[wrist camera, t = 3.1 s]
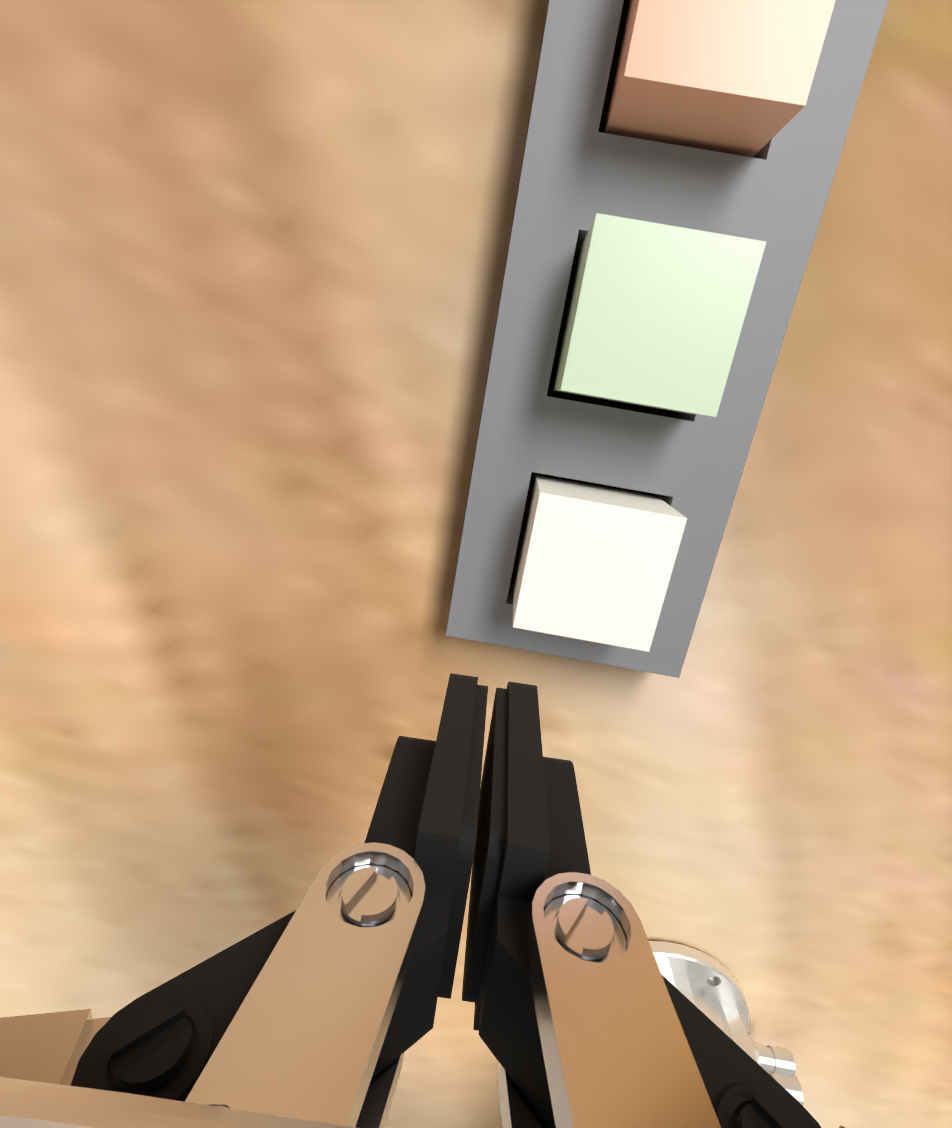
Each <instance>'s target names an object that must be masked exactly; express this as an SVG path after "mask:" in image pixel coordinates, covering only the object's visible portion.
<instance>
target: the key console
mask: <svg viewBox="0 0 952 1128" xmlns="http://www.w3.org/2000/svg"><path fill="white" fill-rule="evenodd" d="M623 2H624V0H549V6H548V12H547V19H546V25H545V31H544V37H543V43H542V49H541V55H540V61H539V68H538V74H537V80H536V86H535V92H534V98H533V104H532V110H531V117H530V123H529V129H528V135H527V141H526V147H525V153H524V159H523V165H522V172H521V178H520V184H519V190H518V196H517V202H516V208H515V214H514V221H513V227H512V233H511V239H510V245H509V251H508V257H507V263H506V270H505V276H504V282H503V288H502V294H501V300H500V306H499V312H498V319H497V325H496V331H495V337H494V343H493V349H492V355H491V361H490V368H489V374H488V380H487V386H486V392H485V398H484V404H483V410H482V417H481V423H480V429H479V435H478V441H477V447H476V453H475V459H474V465H473V472H472V478H471V484H470V490H469V496H468V502H467V508H466V514H465V521H464V527H463V533H462V539H461V545H460V551H459V557H458V563H457V570H456V576H455V582H454V588H453V594H452V600H451V606H450V612H449V619H448V625H447V631H446V636H451V637H457V638H462V639H468V640H473V641H479V642H484V643H490V644H495V645H501V646H506V647H512V648H517V649H523V650H528V651H534V652H539V653H545V654H550V655H556V656H561V657H567V658H573V659H578V660H584V661H589V662H595V663H600V664H606V665H611V666H617V667H622V668H628V669H633V670H639V671H644V672H650V673H655V674H661V675H666V676H672V677H678V678H679V676H680V673H681V669H682V666H683V663H684V660H685V657H686V653H687V650H688V647H689V644H690V640H691V637H692V634H693V631H694V627H695V624H696V621H697V618H698V614H699V611H700V608H701V605H702V601H703V598H704V595H705V592H706V589H707V585H708V582H709V579H710V576H711V572H712V569H713V566H714V563H715V559H716V556H717V553H718V550H719V546H720V543H721V540H722V537H723V533H724V530H725V527H726V524H727V521H728V517H729V514H730V511H731V508H732V504H733V501H734V498H735V495H736V491H737V488H738V485H739V482H740V478H741V475H742V472H743V469H744V466H745V462H746V459H747V456H748V453H749V449H750V446H751V443H752V440H753V436H754V433H755V430H756V427H757V423H758V420H759V417H760V414H761V410H762V407H763V404H764V401H765V398H766V394H767V391H768V388H769V385H770V381H771V378H772V375H773V372H774V368H775V365H776V362H777V359H778V355H779V352H780V349H781V346H782V342H783V339H784V336H785V333H786V330H787V326H788V323H789V320H790V317H791V313H792V310H793V307H794V304H795V300H796V297H797V294H798V291H799V287H800V284H801V281H802V278H803V274H804V271H805V268H806V265H807V262H808V258H809V255H810V252H811V249H812V245H813V242H814V239H815V236H816V232H817V229H818V226H819V223H820V219H821V216H822V213H823V210H824V206H825V203H826V200H827V197H828V194H829V190H830V187H831V184H832V181H833V177H834V174H835V171H836V168H837V164H838V161H839V158H840V155H841V151H842V148H843V145H844V142H845V139H846V135H847V132H848V129H849V126H850V122H851V119H852V116H853V113H854V109H855V106H856V103H857V100H858V96H859V93H860V90H861V87H862V83H863V80H864V77H865V74H866V71H867V67H868V64H869V61H870V58H871V54H872V51H873V48H874V45H875V41H876V38H877V35H878V32H879V28H880V25H881V22H882V19H883V15H884V12H885V9H886V6H887V3H888V0H836V1H835V4H834V8H833V11H832V15H831V18H830V22H829V25H828V29H827V32H826V36H825V39H824V43H823V46H822V50H821V53H820V57H819V60H818V64H817V67H816V71H815V74H814V78H813V81H812V85H811V88H810V91H809V95H808V98H807V102H806V105H805V107H804V108H803V109H802V110H801V111H800V112H799V113H798V114H797V115H796V116H794V117H793V118H792V119H791V120H790V121H789V122H788V123H787V124H786V125H785V126H784V127H783V128H782V129H781V130H780V131H779V132H778V133H777V134H776V135H775V136H774V137H773V138H772V139H771V140H770V141H769V142H768V143H767V144H766V145H765V146H764V147H763V148H762V149H761V150H760V151H759V152H758V153H757V154H756V155H755V156H754V157H753V158H752V157H746V156H740V155H734V154H728V153H722V152H716V151H710V150H704V149H698V148H692V147H686V146H680V145H674V144H668V143H662V142H656V141H650V140H644V139H638V138H632V137H626V136H620V135H614V134H608V133H602V132H598V130H599V125H600V120H601V115H602V110H603V104H604V99H605V94H606V89H607V84H608V79H609V74H610V69H611V63H612V58H613V53H614V48H615V43H616V38H617V33H618V28H619V22H620V17H621V12H622V7H623ZM596 213H599V214H605V215H611V216H617V217H623V218H629V219H635V220H641V221H647V222H653V223H659V224H665V225H671V226H676V227H682V228H688V229H694V230H700V231H706V232H712V233H718V234H724V235H730V236H736V237H742V238H748V239H754V240H759V241H765V242H766V245H765V249H764V252H763V256H762V259H761V263H760V266H759V270H758V273H757V277H756V280H755V284H754V287H753V291H752V294H751V298H750V301H749V305H748V308H747V312H746V315H745V319H744V322H743V326H742V329H741V333H740V336H739V340H738V343H737V346H736V350H735V353H734V357H733V360H732V364H731V367H730V371H729V374H728V378H727V381H726V385H725V388H724V392H723V395H722V399H721V402H720V406H719V409H718V413H717V416H716V417H712V416H704V415H697V414H689V413H681V412H677V415H676V418H670V417H664V416H659V415H653V414H647V413H641V412H636V411H630V410H624V409H618V408H613V407H607V406H601V405H595V404H590V403H584V402H578V401H572V400H567V399H561V398H555V397H549V396H547V391H548V386H549V381H550V376H551V371H552V366H553V360H554V355H555V350H556V345H557V340H558V335H559V330H560V325H561V319H562V314H563V309H564V304H565V299H566V294H567V289H568V284H569V279H570V273H571V268H572V263H573V258H574V253H575V248H579V249H581V246H582V244H583V242H584V239H585V237H586V235H587V233H588V231H589V228H590V226H591V224H592V222H593V219H594V217H595V215H596ZM532 472H535V473H541V474H546V475H552V476H558V477H563V478H569V479H575V480H580V481H586V482H592V483H597V484H603V485H609V486H615V487H620V488H626V489H632V490H637V491H643V492H649V493H654V494H655V496H658V497H659V498H660V499H662V500H663V501H664V502H666V503H667V504H668V505H670V506H671V507H673V508H674V509H675V510H677V511H678V512H679V513H681V514H682V515H683V516H685V517H686V518H687V521H686V525H685V528H684V532H683V535H682V539H681V542H680V546H679V549H678V553H677V556H676V560H675V563H674V567H673V570H672V574H671V577H670V581H669V584H668V588H667V591H666V595H665V598H664V601H663V605H662V608H661V612H660V615H659V619H658V622H657V626H656V629H655V633H654V636H653V640H652V643H651V647H650V650H649V652H647V651H642V650H636V649H631V648H625V647H620V646H614V645H608V644H603V643H597V642H592V641H586V640H581V639H575V638H570V637H564V636H559V635H553V634H547V633H542V632H536V631H531V630H525V629H520V628H514V627H513V587H514V585H511V584H510V581H511V576H512V570H513V565H514V560H515V555H516V550H517V545H518V540H519V535H520V529H521V524H522V519H523V514H524V509H525V504H526V499H527V494H528V488H529V483H530V478H531V473H532Z"/></svg>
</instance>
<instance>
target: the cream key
mask: <svg viewBox="0 0 952 1128" xmlns="http://www.w3.org/2000/svg"><path fill="white" fill-rule="evenodd" d="M686 521H687V518H686V517H685V516H683V515H682V514H681V513H679V512H678V511H677V510H675V509H674V508H673V507H671V506H670V505H668V504H667V503H666V502H664V501H663V500H662V499H660V498H659V497H658V496H653V495H647V494H642V493H636V492H630V491H625V490H619V489H613V488H607V487H602V486H596V485H590V484H585V483H579V482H573V481H568V480H562V479H556V478H551V477H545V476H539V475H536V476H535V481H534V486H533V491H532V496H531V502H530V507H529V512H528V517H527V522H526V527H525V532H524V537H523V542H522V547H521V552H520V557H519V562H518V567H517V572H516V577H515V582H514V587H513V627H514V628H520V629H525V630H531V631H536V632H542V633H547V634H553V635H559V636H564V637H570V638H575V639H581V640H586V641H592V642H597V643H603V644H608V645H614V646H620V647H625V648H631V649H636V650H642V651H647V652H649V650H650V647H651V643H652V640H653V636H654V633H655V629H656V626H657V622H658V619H659V615H660V612H661V608H662V605H663V601H664V598H665V595H666V591H667V588H668V584H669V581H670V577H671V574H672V570H673V567H674V563H675V560H676V556H677V553H678V549H679V546H680V542H681V539H682V535H683V532H684V528H685V525H686Z"/></svg>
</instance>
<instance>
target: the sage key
mask: <svg viewBox="0 0 952 1128" xmlns="http://www.w3.org/2000/svg"><path fill="white" fill-rule="evenodd" d="M765 245H766V242H765V241H759V240H754V239H748V238H742V237H736V236H730V235H724V234H718V233H712V232H706V231H700V230H694V229H688V228H682V227H676V226H671V225H665V224H659V223H653V222H647V221H641V220H635V219H629V218H623V217H617V216H611V215H605V214H599V213H596V215H595V217H594V219H593V222H592V224H591V226H590V228H589V231H588V233H587V235H586V237H585V239H584V242H583V244H582V246H581V249H580V254H579V259H578V264H577V269H576V274H575V279H574V284H573V289H572V294H571V299H570V304H569V309H568V314H567V319H566V325H565V330H564V335H563V340H562V345H561V350H560V355H559V360H558V365H557V370H556V375H555V380H554V385H553V390H554V391H560V392H565V393H571V394H577V395H583V396H588V397H594V398H600V399H606V400H611V401H617V402H623V403H629V404H635V405H640V406H646V407H652V408H658V409H663V410H669V411H675V412H681V413H689V414H697V415H704V416H712V417H716V416H717V413H718V409H719V406H720V402H721V399H722V395H723V392H724V388H725V385H726V381H727V378H728V374H729V371H730V367H731V364H732V360H733V357H734V353H735V350H736V346H737V343H738V340H739V336H740V333H741V329H742V326H743V322H744V319H745V315H746V312H747V308H748V305H749V301H750V298H751V294H752V291H753V287H754V284H755V280H756V277H757V273H758V270H759V266H760V263H761V259H762V256H763V252H764V249H765Z"/></svg>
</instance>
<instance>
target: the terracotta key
mask: <svg viewBox="0 0 952 1128" xmlns="http://www.w3.org/2000/svg"><path fill="white" fill-rule="evenodd" d="M835 1H836V0H630V1H629V6H628V11H627V16H626V21H625V26H624V31H623V36H622V41H621V46H620V51H619V57H618V62H617V67H616V72H615V77H614V82H613V87H612V92H611V97H610V102H609V107H608V112H607V117H606V122H605V127H604V132H603V133H608V134H614V135H620V136H626V137H632V138H638V139H644V140H650V141H656V142H662V143H668V144H674V145H680V146H686V147H692V148H698V149H704V150H710V151H716V152H722V153H728V154H734V155H740V156H746V157H752V158H753V157H754V156H755V155H756V154H757V153H758V152H759V151H760V150H761V149H762V148H763V147H764V146H765V145H766V144H767V143H768V142H769V141H770V140H771V139H772V138H773V137H774V136H775V135H776V134H777V133H778V132H779V131H780V130H781V129H782V128H783V127H784V126H785V125H786V124H787V123H788V122H789V121H790V120H791V119H792V118H793V117H794V116H796V115H797V114H798V113H799V112H800V111H801V110H802V109H803V108H804V107H805V105H806V102H807V98H808V95H809V91H810V88H811V85H812V81H813V78H814V74H815V71H816V67H817V64H818V60H819V57H820V53H821V50H822V46H823V43H824V39H825V36H826V32H827V29H828V25H829V22H830V18H831V15H832V11H833V8H834V4H835Z"/></svg>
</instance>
